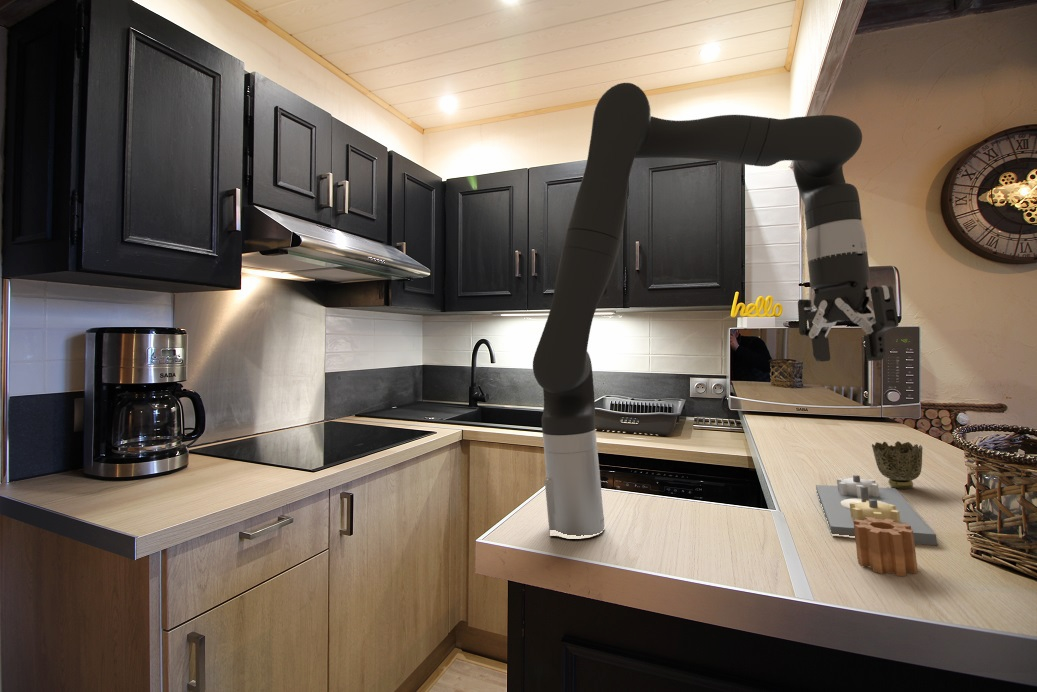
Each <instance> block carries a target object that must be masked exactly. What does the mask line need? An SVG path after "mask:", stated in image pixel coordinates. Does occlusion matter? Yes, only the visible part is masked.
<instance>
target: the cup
mask: <svg viewBox="0 0 1037 692" xmlns="http://www.w3.org/2000/svg"><path fill="white" fill-rule="evenodd" d="M871 444H872V445H871V448H872V452H873V456H874V460H875V463H876V466H877V468H878V471H879V472H880V474H881V475H882V476H883V477H885V478H887V479H888V481H887V482H888V484H889V486H890V488H895V489H897V490H898V489H899V490H909V489H912V488H913V487H914V482H913V481H914V480H916V479H917V478H918V477H920V475H921V473H922V468H923V446H922V445H921V444H920V445H918V444H914V445H913V444H912V443H911V442H909V441H907V442H904V443H902V442H901V441H899V440H897V441H896V442H895V443H894V445H892V444H891V445H889V444H888V442H886V441H883V442H882V443H881V442H875V444H873V443H871Z"/></svg>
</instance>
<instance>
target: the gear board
mask: <svg viewBox="0 0 1037 692" xmlns="http://www.w3.org/2000/svg"><path fill="white" fill-rule="evenodd" d="M836 484H837V485H827V484H826V485H825V484H822V485H821V484H815V490H817V491H816V494H817V493H818V495H817V497H818V496H819V498H818V500H819V499H820V501H819V503H820V502H821V504H822V507H823V510H824V512H823V514H824V513H825V515H824V517H825V516H826V518H827V521H828V524H829V527H830V530H831V532H830V534H831V533H832V534H839V535H849V536H855V531H854V522H853V521H854V520H855V519H858V520H865V517H873V518H874V519H881V520H885V519H886V518H887V519H892V520H895V522H897V523H899V524H908V525H910V526H911V530H913V535H914V543H916V544H917V545H928V546H929V545H930V546H938V539H937V534H936V533H935V532H934V530H933V529H932V528H931V526H929V525H928V524H927V523H926V521H925V520H924V519H923V518H922V517H921V515H920V514H918V512H917V511H916V510H915V509H914V508H913V507H912V506H911V504H910V503H909V502H908V501H907V500H906V498H904V496H903V495H901V493H900V492H899V491H898V489H897V488H894V487H879V484H878V483H876V480H874V479H869V478H868V479H867V478H866V479H865V478H861V477H860V475H857V474H854V475H852V476H851V477H847V478H841V477H840V478H837V479H836ZM821 504H820V505H821ZM822 507H821V508H822ZM823 510H822V511H823ZM826 518H825V519H826ZM827 521H826V522H827ZM828 524H827V525H828ZM829 527H828V528H829ZM830 530H829V531H830ZM916 544H915V545H916Z"/></svg>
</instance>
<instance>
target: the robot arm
mask: <svg viewBox="0 0 1037 692" xmlns="http://www.w3.org/2000/svg"><path fill="white" fill-rule="evenodd" d="M651 113H652V111H651V105H650V102H649V99H648V97H647V94H646V93H645V92H644V91H643V89H642V88H641V87H639V86H638V85H636V84H634V83H631V82H621V83H617V84H614V85H613V86H611V87H610V88H609V89H608V90H606V91H605V92H604V93H603V94H602V95H601V96H600V98H599V100H598V102H597V103H596V106H595V108H594V111H593V117H592V125H591V134H590V141H589V147H588V154H587V159H586V164H585V168H584V173H583V176H582V180H581V182H580V185H579V188H578V192H577V194H576V198H575V200H574V205H573V208H572V212H571V214H570V219H569V223H568V224H567V230H566V233H565V237H564V240H563V241H564V242H563V246H562V249H561V254H560V260H559V264H558V268H557V274H556V278H555V283H554V289H553V297H552V301H551V306H550V309H549V313H548V315H547V318H546V319H547V320H546V321H545V324H544V327H543V330H542V333H541V336H540V339H539V341H538V343H537V347H536V349H535V352H534V357H533V360H532V371H533V376H534V379H535V381H536V382H537V384H538V385H539V386H540V387H541V388H542V389H543V390H542V393H543V411H542V415H541V430H542V431H541V432H542V441H543V452H544V464H545V475H546V477H545V479H544V486H545V499H546V509H547V510H546V511H547V523H548V531H549V530H556V531H558V532H561V533H563V534H567V535H576V536H581V535H583V536H584V535H593V534H597V533H600V532H601V531H603V529H604V527H605V516H604V507H603V497H602V486H601V485H602V483H601V473H600V463H599V462H600V461H599V451H598V443H597V431H596V421H595V420H596V419H595V418H596V416H595V415H596V401H595V399H596V398H595V388H594V377H593V376H594V375H593V374H594V373H593V366H592V365H593V363H592V360H591V357H590V354H589V351H588V346H589V345H588V344H589V340H590V339H589V338H590V335H591V334H590V333H591V328H592V323H593V319H594V316H595V313H596V311H597V308H598V306H599V303H600V301H601V299H602V297H603V295H604V294H605V291H606V289H607V286H608V284H609V281H610V279H611V276H612V273H613V271H614V267H615V263H616V261H617V257H618V253H619V250H620V245H621V241H622V236H623V235H622V234H623V230H624V224H625V220H626V219H625V217H626V210H627V199H628V188H629V182H630V181H629V180H630V176H631V171H632V167H633V164H634V162H635V159H649V158H650V159H651V158H659V159H660V158H663V159H664V158H665V159H666V158H667V159H668V158H670V159H671V158H672V159H673V158H674V159H677V158H678V159H692V160H693V159H695V160H696V159H697V160H707V161H714V162H715V161H716V162H725V163H732V164H737V165H746V166H754V167H771V166H773V165H776V164H778V163H779V162H785V161H788V162H789V161H790V162H791V161H792V169H793V171H792V172H793V176H794V179H795V183H796V186H797V190H798V192H799V195H800V198H801V200H802V202H803V204H804V205H803V206H804V210H803V211H804V219H805V227H806V228H805V229H806V244H805V245H806V246H805V247H806V248H805V249H806V257H807V267H808V278H809V286H810V288H811V289H812V290H813V291H814V297H813V298H802V299H801V298H800V299H798V301H797V314H798V329H799V330H798V332H799V334H800V335H801V336H806V337H809V338H810V340H811V342H812V343H811V345H812V355H813V357H814V359H815V361H816V362H820V363H822V362H829V361H831V351H830V345H829V344H830V342H829V337H828V334H829V332H830V331H831V329H832V328H833V327H834V326H835V325H837V323H840V322H845V321H851V322H852V323H853V324H855V325H858V327H859V328H861V330H863V332H864V333H865V334H866V335H865V334H864V335H863V340H864V347H865V348H864V349H865V356H866V360H867V361H869V362H873V361H874V362H876V361H877V362H878V361H883V360H884V357H885V356H886V346H885V336H884V334H885V333H886V332H887V331H888V330H891V329H893V328H897V327H899V325H900V324H899V323H900V322H899V318H898V316H899V315H898V312H897V305H896V300H895V295H894V294H895V293H894V289H893V287H892V286H891V285H877V286H876V285H875V286H874V285H873V286H872V287H869V285H868V282H870V280H871V274H870V266H869V256H868V246H867V238H866V232H865V229H864V226H863V221H862V219H863V218H862V213H861V212H862V211H861V201H860V195H859V191H858V189H857V187H856V186H855V185H853V184H851V183H848V182H847V183H846V179H845V175H844V170H843V166H844V165H845V164H846V163H847V162H849V161H850V160H851V159H852V158H853V157H854V156H855V155H856V153H857V152H858V151H859V149H860V148H861V144H862V142H863V133H862V129H861V128H860V127H859V125H858V124H857V123H856V122H854V121H853V120H851V119H850V118H847V117H843V116H840V115H832V114H831V115H830V114H822V115H821V114H820V115H818V114H817V115H809V116H807V115H805V116H796V117H795V116H794V117H790V118H781V119H780V118H774V117H767V116H758V115H756V116H755V115H747V114H723V115H721V114H720V115H714V116H710V117H703V118H697V119H688V120H687V119H686V120H672V119H664V118H659V117H655V116H651V115H652V114H651ZM870 301H871V303H872V307H873V309H872V308H871V307H870V305H869V303H870Z"/></svg>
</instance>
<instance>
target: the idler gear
mask: <svg viewBox="0 0 1037 692" xmlns="http://www.w3.org/2000/svg"><path fill="white" fill-rule="evenodd" d="M853 522H854V531H855V538H854V540H855V546H856V548H855V549H856V556H857V561H858V565H860V566H861V567H862V566H870V567H871V569H872V568H873V569H872V570H873V572H874V573H877V572H878V573H877V574H880V573H881V575H883V574H884V573H887V574H894V575H895V576H897V577H906V576H907V575H906V574H907V572H908V573H911V574H914V575H916V574H917V572H919V571H918V561H917V553H916V544H915V543H914V535H913V530H911V526H910V525H908V524H899V523H897V522H895V520H892V519H887V518H886V519H885V520H881V519H874V518H873V517H865V520H858V519H855V520H854V521H853ZM870 567H869V568H870Z"/></svg>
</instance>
